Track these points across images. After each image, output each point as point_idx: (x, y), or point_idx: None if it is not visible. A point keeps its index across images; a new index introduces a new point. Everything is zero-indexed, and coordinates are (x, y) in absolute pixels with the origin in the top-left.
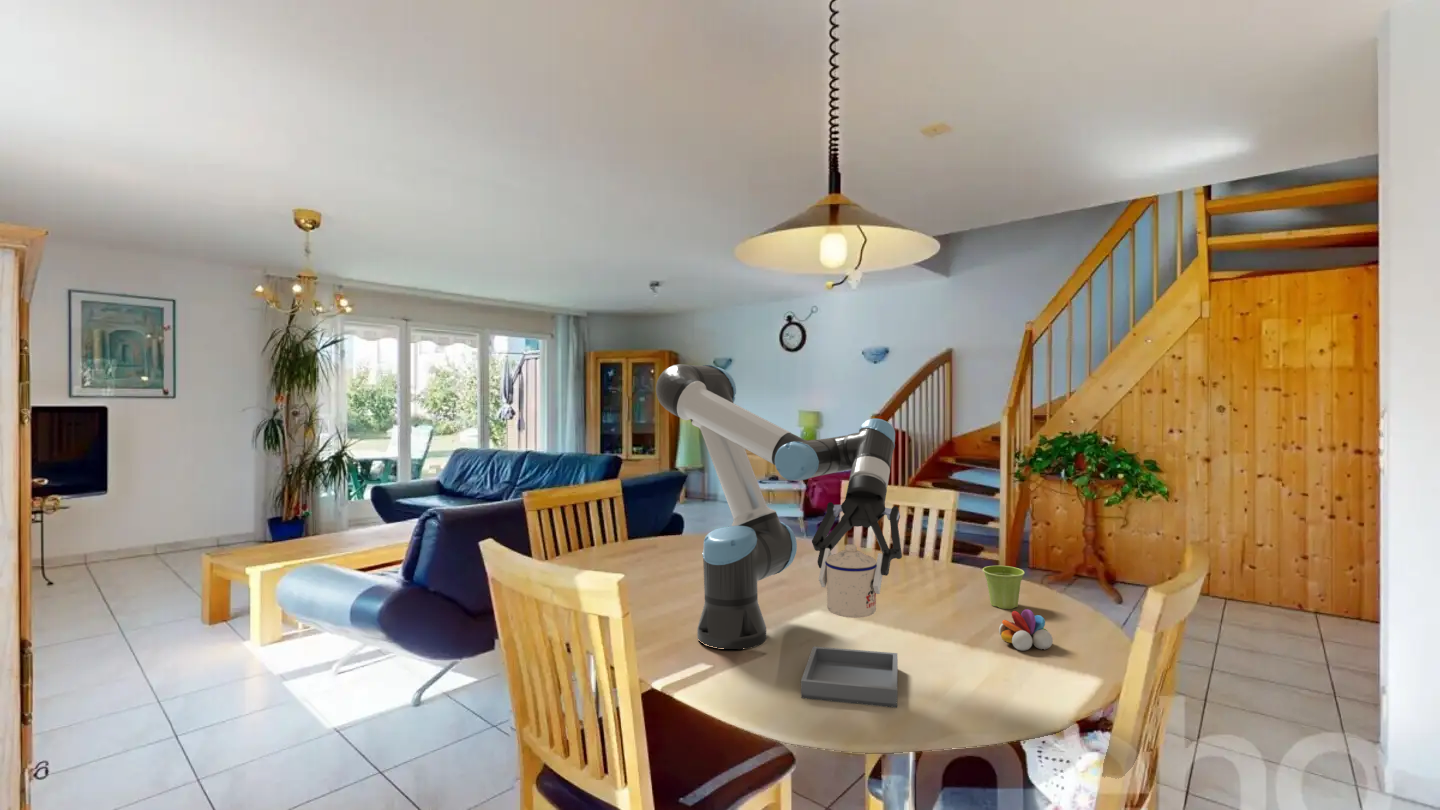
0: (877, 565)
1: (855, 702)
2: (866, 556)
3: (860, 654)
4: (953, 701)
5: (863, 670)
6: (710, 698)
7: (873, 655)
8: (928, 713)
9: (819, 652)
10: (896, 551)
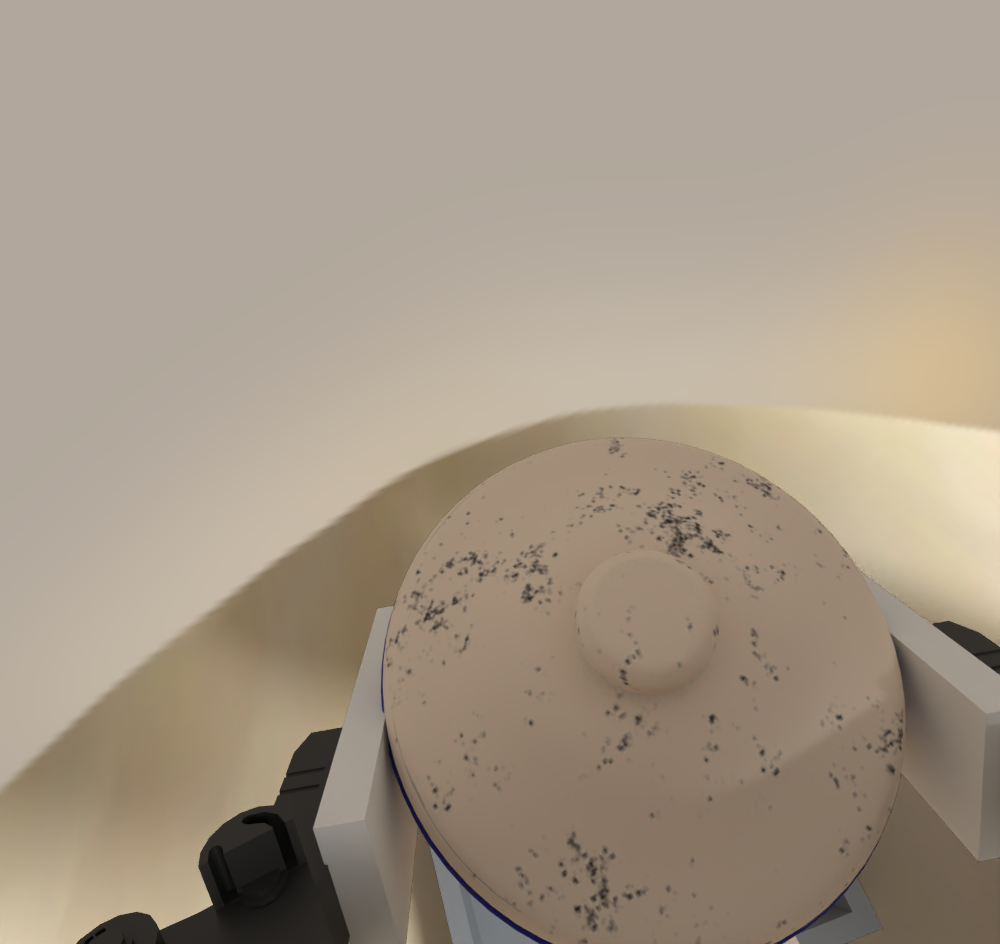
0: (373, 708)
1: None
2: (475, 693)
3: None
4: None
5: None
6: (899, 437)
7: None
8: (305, 695)
9: (832, 913)
10: (127, 917)
